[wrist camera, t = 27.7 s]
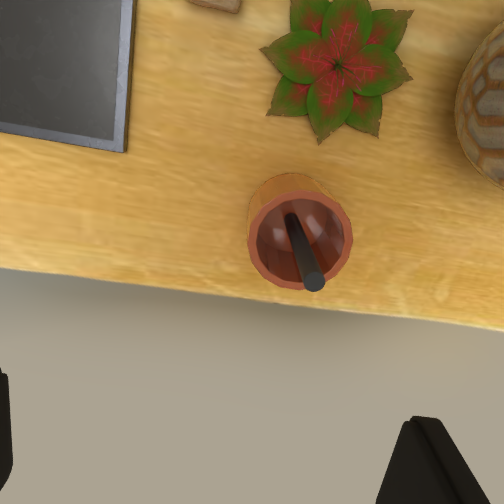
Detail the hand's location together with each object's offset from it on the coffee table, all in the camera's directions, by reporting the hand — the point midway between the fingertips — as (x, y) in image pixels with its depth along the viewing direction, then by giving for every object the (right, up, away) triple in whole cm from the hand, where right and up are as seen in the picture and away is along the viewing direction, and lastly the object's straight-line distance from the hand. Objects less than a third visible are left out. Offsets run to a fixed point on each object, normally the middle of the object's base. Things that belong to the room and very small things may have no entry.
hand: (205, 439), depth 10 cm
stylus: (+4, +7, +25) cm, 26 cm away
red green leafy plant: (+7, +19, +22) cm, 29 cm away
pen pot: (+4, +8, +25) cm, 27 cm away
